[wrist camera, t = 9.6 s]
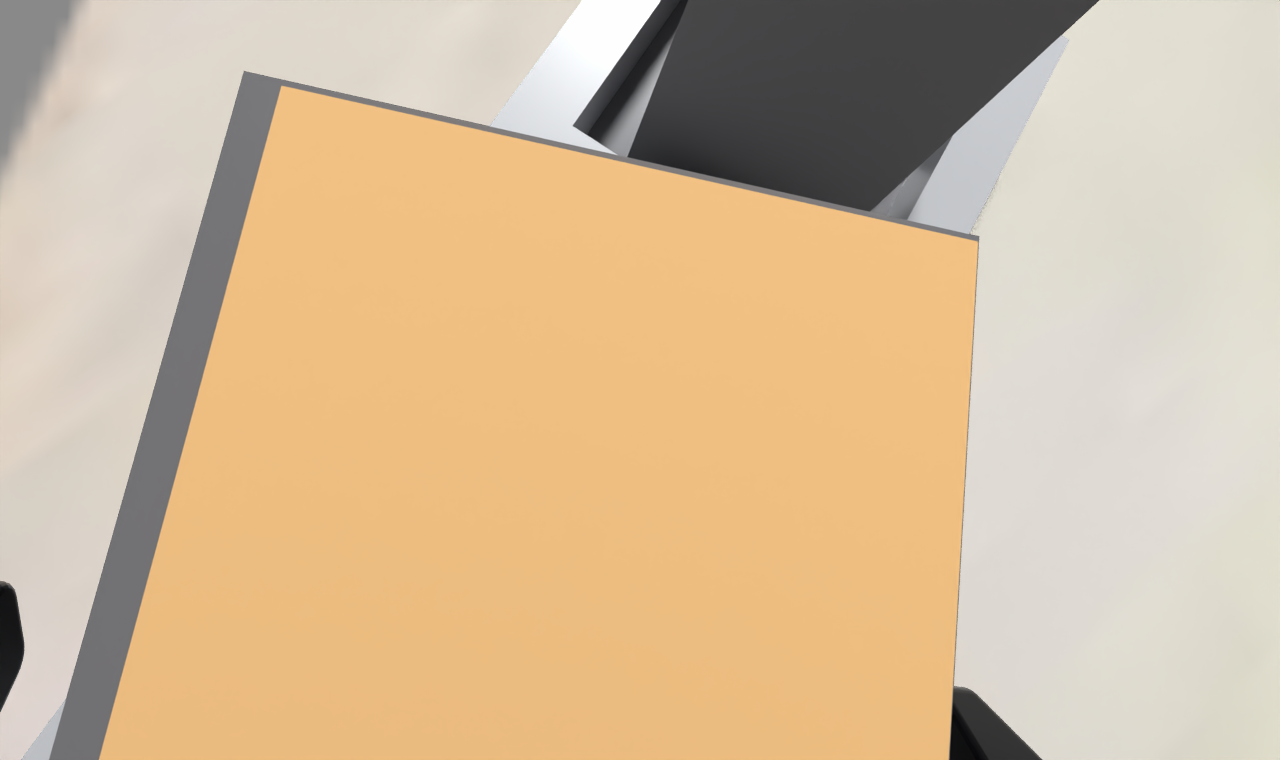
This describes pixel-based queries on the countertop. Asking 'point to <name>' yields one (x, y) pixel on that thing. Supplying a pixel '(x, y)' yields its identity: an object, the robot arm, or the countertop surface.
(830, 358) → the orange grey tall block
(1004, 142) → the light grey recessed block
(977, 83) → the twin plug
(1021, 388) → the countertop surface
